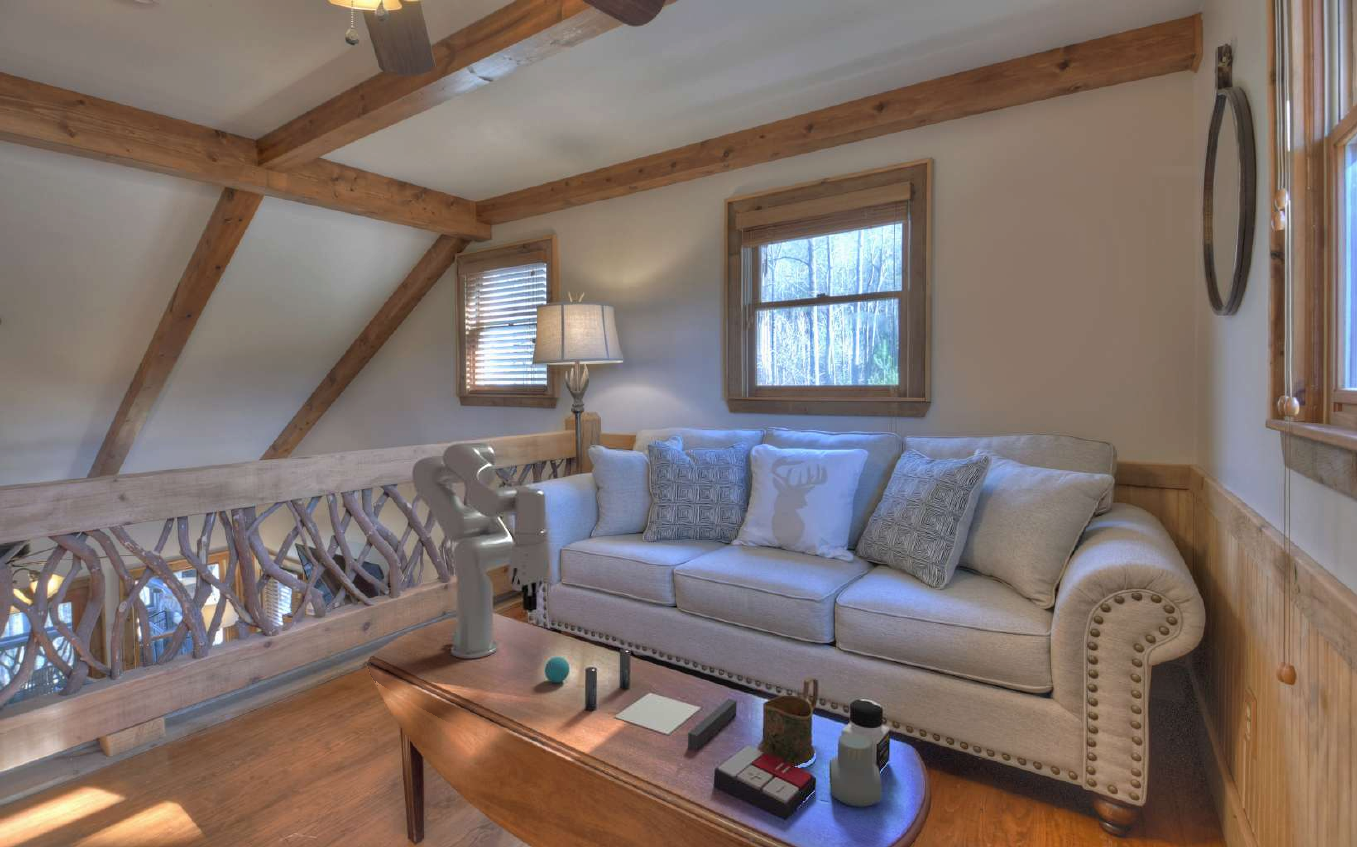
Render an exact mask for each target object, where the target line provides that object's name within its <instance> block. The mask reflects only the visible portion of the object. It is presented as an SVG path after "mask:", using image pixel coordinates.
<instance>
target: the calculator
mask: <svg viewBox="0 0 1357 847" xmlns="http://www.w3.org/2000/svg"><path fill="white" fill-rule="evenodd" d="M713 778H714V779H713V788H715V789H716V790H719V791H721V792H722V793H725V794H726V795H727V794H728V795H729V796H732V797H736V799H739V800H741V801H743V802H744V803H747V804H749V805H751V806H753V807H755V808H757V809H759V810H762V811H764V812H766V813H768V814H770V815H772V816H775V817H776V816H777V818H778V817H779V819H780V818H781V820H782V821H788V820H789V819H790V818H791V817H792V816H793V815H794V814H795V813H796V812H797V811H798V810H797V808H798V807H799V806H800V805H801V804H802V803H803V801H805V800H806V798H807V797H808V796H809V795H810V794H811V793H812V792H813V791H814V790H815V791H816V786H817V778H816V777H815V776H814V775H813V774H812V773H810V772H808V771H806V770H805V769H804V770H803V768H801V769H800V768H798V767H795V766H793V765H791V764H789V763H787V762H784V761H782V760H780V759H778V758H776V757H774V756H771V755H769V754H767V753H765V754H764V753H763V752H761V751H758V749H756V748H755V747H752V746H750V745H745V746H744V747H742V748H741V749H740V750H738V751H737V752H736V753H735V754H733V755H731V757H729V758H728V759H726V760H725V761H723V762H722V763H721V764H720V765H718V766H717V767H716V768H715V769H714V776H713ZM796 810H797V811H796ZM795 811H796V812H795ZM794 812H795V813H794ZM793 813H794V814H793ZM792 814H793V815H792ZM791 815H792V816H791ZM790 816H791V817H790ZM789 817H790V818H789ZM788 818H789V819H788ZM787 819H788V820H787Z"/></svg>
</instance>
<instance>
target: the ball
mask: <svg viewBox="0 0 1357 847" xmlns="http://www.w3.org/2000/svg"><path fill="white" fill-rule="evenodd" d="M569 674H570V665H569V663H568V661H567V660H566V659H565V658H564V657H560V656H555V657H553V658H551V659H549V660H548V661H547V663H546V664H545V668H544V675H545V677H546V679H547V680H548V681H550V682H551V683H555V684H559V683H561V682H563V681H565V680H566V678H568V676H569Z"/></svg>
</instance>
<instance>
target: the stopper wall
mask: <svg viewBox="0 0 1357 847" xmlns="http://www.w3.org/2000/svg"><path fill="white" fill-rule="evenodd" d="M737 702H738V701H737V700H734V699H730V698H728V699H726V700H725V701H724V702H723V703H722V704H720V705H719V706H718V707H717V708H716V709H715V710H713V711H712V712H711V713H709V715H707V717H705V718H704V719H703V720H701V722H700V723H698V724H697V725H696V726H695V727H693V728H692V729H691V730H690V731H689V732H687V733H688V734H687V736H688V737H687V738H688V739H687V748H688V749H690V750H694V751H698V750H699V749H700V748H701V747H703V745H704V744H706V742H708V741H709V740H710V739H711V738H712V737H713V736H714V735H716V734H717V733H718V732H719V731H720V730H721V729H722V728H723V727H724V726H725V725H726V724H728V722H729V721H731V720H732V719H733V718H734V717H735V716H736V715H737ZM734 715H735V716H734ZM733 716H734V717H733ZM732 717H733V718H732ZM731 718H732V719H731ZM730 719H731V720H730ZM728 720H729V721H728ZM723 725H724V726H723ZM722 726H723V727H722ZM721 727H722V728H721ZM719 729H720V730H719ZM718 730H719V731H718Z"/></svg>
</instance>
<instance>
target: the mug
mask: <svg viewBox="0 0 1357 847" xmlns="http://www.w3.org/2000/svg"><path fill="white" fill-rule="evenodd" d="M810 683H813V684H812V686H813V687H812V695H811V701H810V702H809V701H808V700H807V698H808V695H809V691H810V690H809V689H810V688H809V687H810ZM818 697H819V681H818V679H817V678H814V677H809V678H808V677H807V678H806V679H804V681H803V691H802V694H801V695H800V696H796V695H790V694H789V695H788V694H787V695H785V694H784V695H779V696H777V697H773V698H772V699H769V700H766V701H765V702H763V703H762V707H763V708H762V711H763V712H762V740H761V741H760V742H759V743H758V745H759V746H758V745H757V750H759V751H761V752H763V753H764V754H765V753H767V754H769V755H771V756H774V757H776V758H778V759H780V760H782V761H784V762H787V763H789V764H791V765H793V766H798V765H800V764H802V763H807V762H808V761H809V760H811V759H812V758H813V757H814V753H815V751H816V750H815V751H814V749H815V747H814V746H813V745H812V743H813V738H812V737H813V733H812V728H813V726H812V725H813V711H814V710H815V708H816V707H817V703H818V699H819V698H818ZM813 747H814V748H813Z"/></svg>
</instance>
